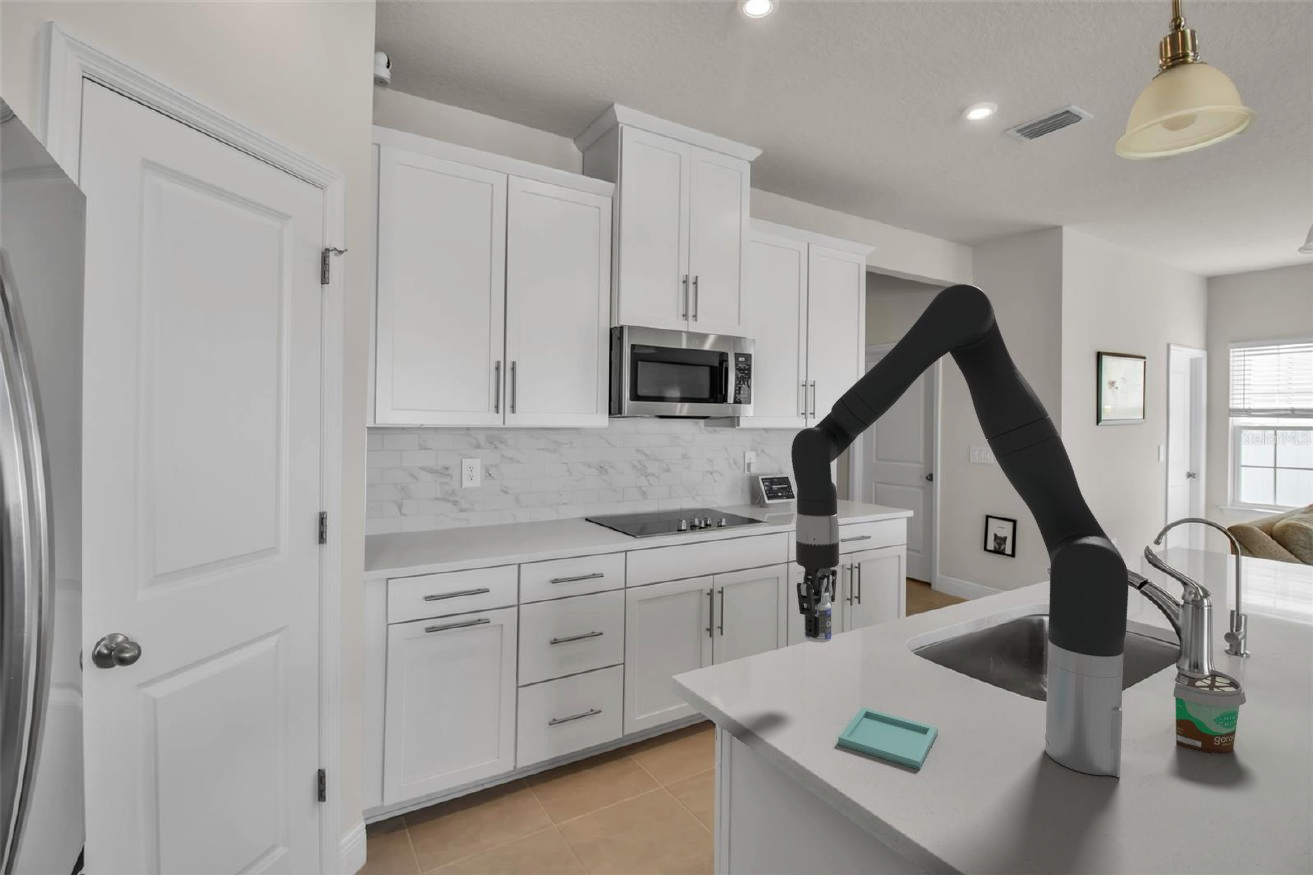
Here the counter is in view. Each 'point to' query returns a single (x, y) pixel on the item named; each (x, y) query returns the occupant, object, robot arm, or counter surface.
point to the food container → (1208, 713)
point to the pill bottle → (823, 621)
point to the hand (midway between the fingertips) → (818, 631)
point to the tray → (889, 737)
